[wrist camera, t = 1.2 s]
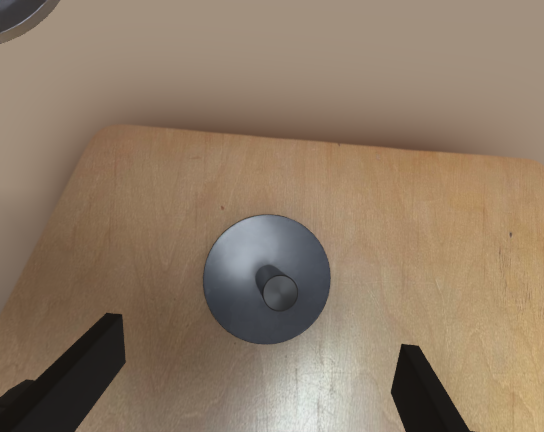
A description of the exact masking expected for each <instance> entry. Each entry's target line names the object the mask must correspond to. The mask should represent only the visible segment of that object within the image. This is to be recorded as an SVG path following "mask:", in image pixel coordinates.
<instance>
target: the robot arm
mask: <svg viewBox="0 0 544 432" xmlns="http://www.w3.org/2000/svg"><path fill="white" fill-rule="evenodd" d="M125 363H126V360H125V346H124V333H123V319H122V314H113V313H106V314H105V315H104V316H103V317H102V318H101V319H100V320H98V321H97V322H96V323H95V324H94V325H93V326H92V327H91V328H90V329H89V330H88V331H87V332H86V333H85V334H84V335H83V336H82V337H81V338H80V339H78V340H77V341H76V342H75V343H74V344H73V345H72V346H71V347H70V348H69V349H68V350H67V351H66V352H65V353H64V354H63V355H62V356H61V357H59V358H58V359H57V360H56V361H55V362H54V363H53V364H52V365H51V366H50V367H49V368H48V369H47V370H46V371H45V372H44V373H43V374H42V375H40V376H39V377H38V378H37V379H36V380H35V381H34V380H25V381H23V382H21V383H20V384H18V385H16V386H15V387H13V388H11V389H10V390H8V391H7V392H6V393H5V394H4V395H3V396H1V397H0V432H75V430H76V429H77V428H78V426H79V425H80V423H81V422H82V421H83V419H84V418H85V417H86V415H87V414H88V413H89V411H90V410H91V409H92V407H93V406H94V405H95V403H96V402H97V400H98V399H99V398H100V396H101V395H102V394H103V392H104V391H105V390H106V388H107V387H108V386H109V384H110V383H111V382H112V380H113V379H114V377H115V376H116V375H117V373H118V372H119V371H120V369H121V368H122V367H123V365H124V364H125ZM391 394H392V397H393V400H394V402H395V405H396V408H397V410H398V413H399V415H400V418H401V421H402V423H403V426H404V428H405V431H406V432H474V431H470V430H469V429H468V427H467V425H466V424H465V422H464V420H463V419H462V417H461V415H460V414H459V412H458V410H457V409H456V407H455V405H454V404H453V402H452V400H451V399H450V397H449V395H448V394H447V392H446V390H445V389H444V387H443V385H442V384H441V382H440V380H439V379H438V377H437V375H436V374H435V372H434V370H433V369H432V367H431V366H430V364H429V362H428V361H427V359H426V357H425V356H424V354H423V352H422V351H421V349H420V347H419V346H416V345H407V344H401V349H400V353H399V358H398V362H397V367H396V371H395V375H394V380H393V384H392V389H391Z"/></svg>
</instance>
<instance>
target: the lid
mask: <svg viewBox="0 0 544 432" xmlns="http://www.w3.org/2000/svg"><path fill="white" fill-rule="evenodd" d="M330 279H331V278H330V267H329V262H328V259H327V256H326V253H325V251H324V249H323V247H322V245H321V244H320V242H319V241H318V239H317V238H316V237H315V236H314V234H313V233H311V232H310V231H309V230H308V229H307V228H306V227H304V226H303V225H302V224H300V223H298V222H296V221H294V220H292V219H289V218H287V217H283V216H279V215H258V216H253V217H249V218H246V219H244V220H241V221H239V222H237V223H236V224H234V225H232V226H231V227H230V228H228V229H227V230H226V231H225V232H224V233H223V234H222V235H221V236H220V237H219V238H218V239H217V241H216V242H215V244H214V245H213V247H212V249H211V250H210V252H209V255H208V257H207V260H206V263H205V268H204V275H203V287H204V294H205V298H206V301H207V304H208V306H209V308H210V311H211V312H212V314H213V316H214V317H215V319H216V320H217V321H218V322H219V324H220V325H221V326H222V327H223V328H224V329H226V330H227V331H228V332H229V333H231V334H232V335H234V336H236V337H238V338H240V339H242V340H244V341H247V342H251V343H256V344H276V343H280V342H284V341H287V340H290V339H292V338H294V337H296V336H298V335H300V334H301V333H302V332H304V331H305V330H306V329H308V328H309V327H310V326H311V325H312V324H313V323H314V321H315V320H316V319H317V318H318V316H319V315H320V313H321V312H322V310H323V308H324V306H325V304H326V301H327V298H328V294H329V289H330Z"/></svg>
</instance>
